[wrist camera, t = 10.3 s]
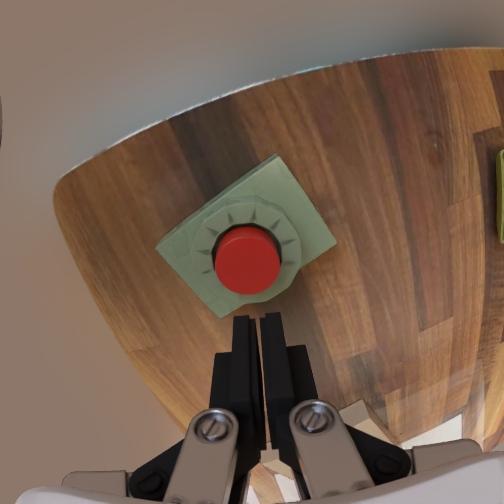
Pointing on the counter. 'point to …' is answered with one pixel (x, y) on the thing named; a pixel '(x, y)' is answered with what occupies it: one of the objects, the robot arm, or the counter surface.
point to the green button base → (248, 215)
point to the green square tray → (500, 194)
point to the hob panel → (352, 415)
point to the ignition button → (247, 261)
